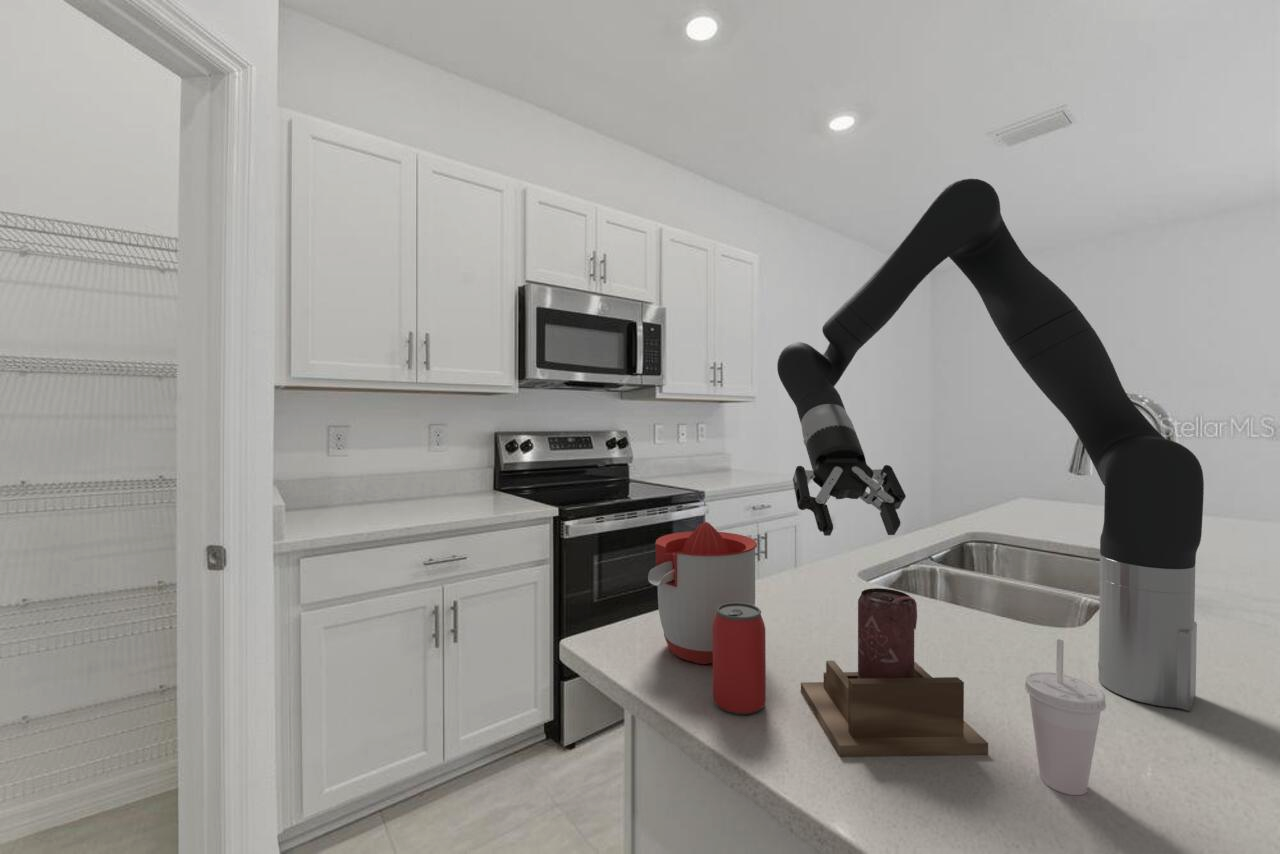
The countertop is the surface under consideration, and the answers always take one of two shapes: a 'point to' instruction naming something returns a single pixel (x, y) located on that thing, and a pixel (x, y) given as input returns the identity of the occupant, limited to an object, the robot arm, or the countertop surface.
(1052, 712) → the smoothie
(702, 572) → the citrus juicer
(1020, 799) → the countertop surface
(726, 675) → the beer can
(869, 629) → the can
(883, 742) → the dock
